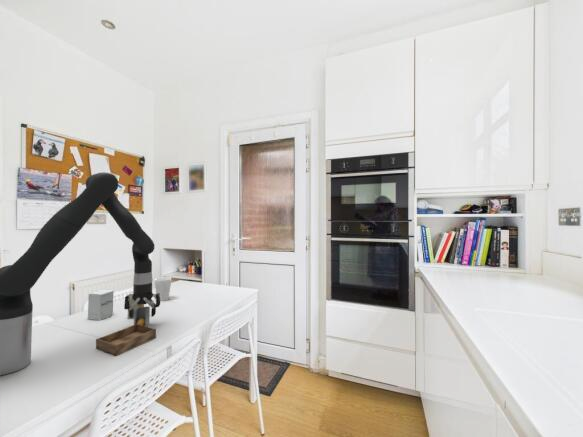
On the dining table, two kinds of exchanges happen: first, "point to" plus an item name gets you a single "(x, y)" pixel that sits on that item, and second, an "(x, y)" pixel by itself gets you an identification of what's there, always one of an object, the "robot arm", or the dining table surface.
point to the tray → (125, 339)
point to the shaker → (142, 315)
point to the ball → (141, 321)
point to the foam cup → (163, 287)
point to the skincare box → (134, 306)
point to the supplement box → (100, 304)
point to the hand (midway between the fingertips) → (142, 316)
